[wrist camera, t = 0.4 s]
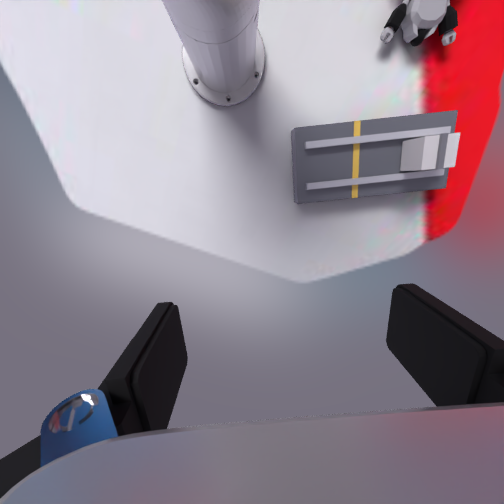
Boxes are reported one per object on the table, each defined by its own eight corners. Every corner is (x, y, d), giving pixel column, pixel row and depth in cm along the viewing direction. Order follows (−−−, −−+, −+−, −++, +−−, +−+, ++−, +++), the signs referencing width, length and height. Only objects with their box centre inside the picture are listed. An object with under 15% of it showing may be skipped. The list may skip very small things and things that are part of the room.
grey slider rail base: (291, 131, 40) (295, 126, 36) (442, 114, 40) (463, 108, 36) (294, 201, 44) (298, 204, 40) (432, 187, 44) (450, 188, 40)
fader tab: (402, 140, 38) (427, 135, 33) (433, 137, 38) (463, 131, 33) (399, 171, 39) (423, 170, 34) (429, 168, 39) (457, 167, 34)
